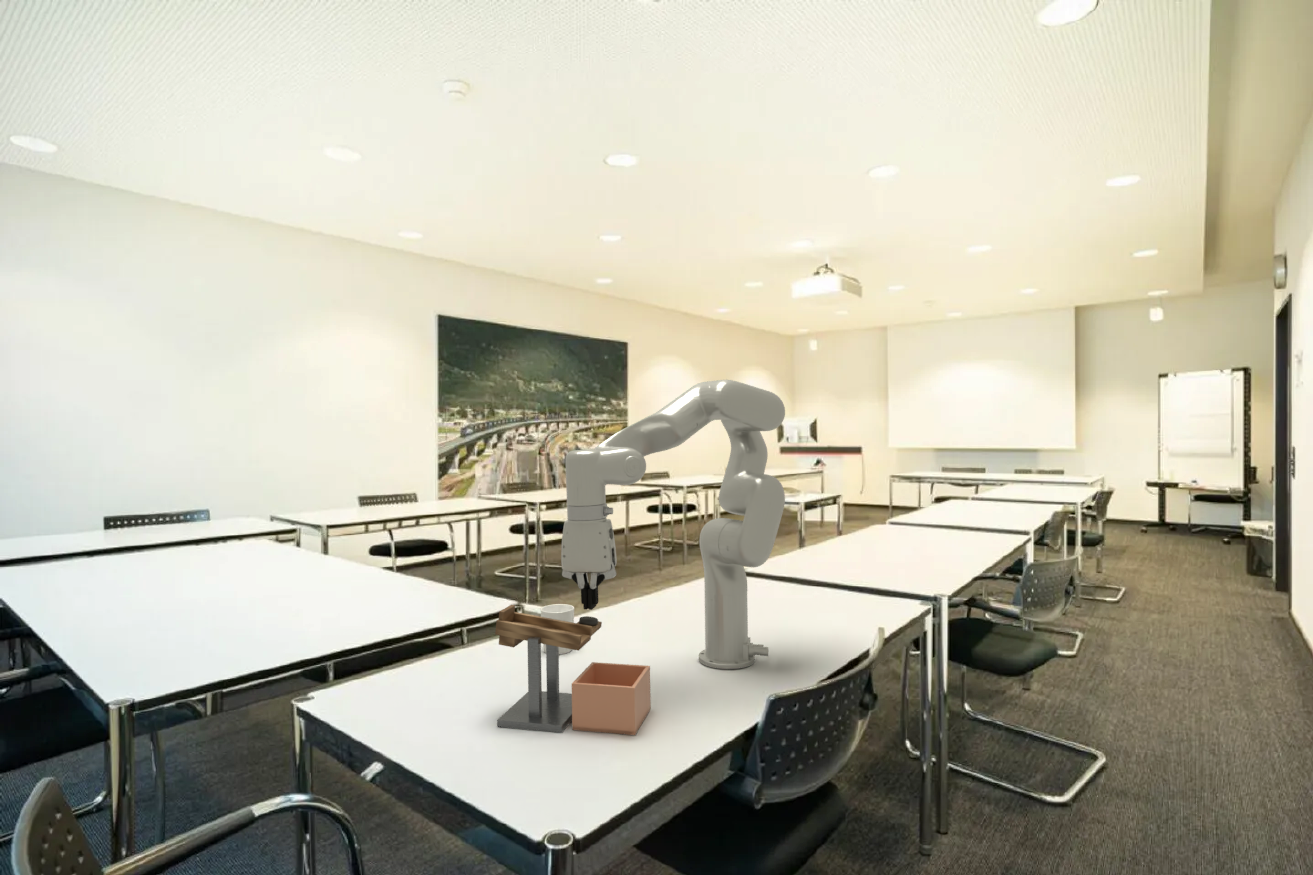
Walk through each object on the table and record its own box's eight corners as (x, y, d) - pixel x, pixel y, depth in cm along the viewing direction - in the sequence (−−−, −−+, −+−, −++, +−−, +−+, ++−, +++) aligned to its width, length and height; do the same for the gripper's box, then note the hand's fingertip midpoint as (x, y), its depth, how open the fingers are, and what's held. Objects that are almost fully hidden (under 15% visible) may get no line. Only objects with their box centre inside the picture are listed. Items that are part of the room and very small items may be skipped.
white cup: (568, 656, 157) (567, 613, 157) (536, 654, 159) (535, 611, 159) (579, 645, 165) (578, 604, 165) (548, 644, 166) (547, 603, 166)
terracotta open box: (650, 708, 126) (650, 665, 126) (635, 735, 115) (634, 687, 115) (592, 704, 129) (592, 662, 129) (572, 729, 118) (571, 683, 118)
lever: (602, 637, 134) (605, 607, 134) (577, 661, 120) (580, 628, 120) (527, 623, 138) (530, 593, 138) (493, 645, 124) (497, 612, 123)
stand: (588, 701, 131) (587, 622, 130) (561, 732, 117) (560, 644, 117) (529, 696, 133) (528, 619, 133) (497, 726, 120) (495, 641, 120)
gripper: (629, 510, 134) (632, 603, 135) (557, 511, 138) (560, 601, 138) (618, 516, 127) (621, 614, 127) (543, 516, 130) (546, 611, 131)
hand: (590, 607), depth 133 cm, fingers closed
